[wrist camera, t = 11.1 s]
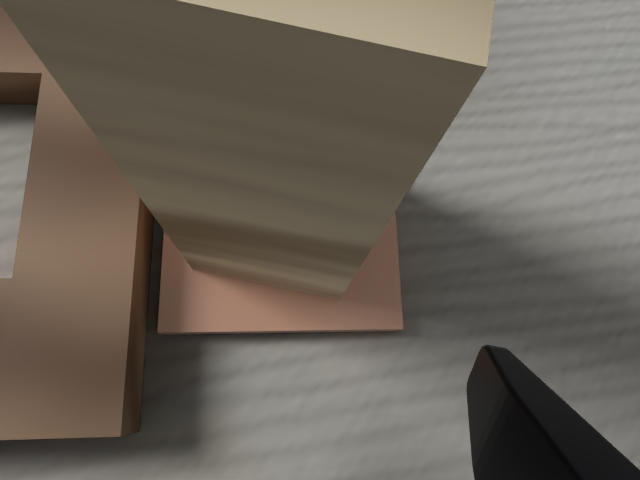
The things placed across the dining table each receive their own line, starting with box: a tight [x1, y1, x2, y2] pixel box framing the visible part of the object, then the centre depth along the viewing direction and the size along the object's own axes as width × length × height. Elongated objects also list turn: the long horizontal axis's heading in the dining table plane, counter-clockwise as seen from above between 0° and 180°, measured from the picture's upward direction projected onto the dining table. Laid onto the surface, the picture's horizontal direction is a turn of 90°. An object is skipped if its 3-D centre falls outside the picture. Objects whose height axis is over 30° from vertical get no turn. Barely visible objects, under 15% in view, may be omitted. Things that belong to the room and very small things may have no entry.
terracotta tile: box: [157, 211, 404, 335], centre depth 18 cm, size 8×8×1 cm
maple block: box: [0, 0, 495, 300], centre depth 12 cm, size 5×5×13 cm
